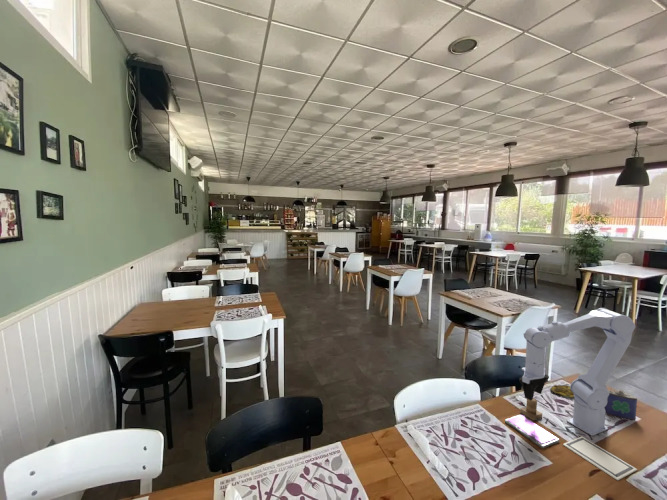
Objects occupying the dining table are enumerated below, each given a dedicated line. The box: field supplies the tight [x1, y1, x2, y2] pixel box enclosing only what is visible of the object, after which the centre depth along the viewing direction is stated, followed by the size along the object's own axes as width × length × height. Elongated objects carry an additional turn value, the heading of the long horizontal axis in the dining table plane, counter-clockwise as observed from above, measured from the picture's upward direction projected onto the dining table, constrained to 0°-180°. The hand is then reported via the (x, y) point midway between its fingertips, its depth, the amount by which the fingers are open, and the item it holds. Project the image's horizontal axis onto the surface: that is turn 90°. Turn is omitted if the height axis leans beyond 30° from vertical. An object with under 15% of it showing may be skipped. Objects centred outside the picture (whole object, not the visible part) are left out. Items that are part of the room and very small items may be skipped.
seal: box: [549, 384, 574, 400], centre depth 122 cm, size 9×5×15 cm
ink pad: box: [504, 414, 560, 449], centre depth 98 cm, size 8×13×1 cm, turn 20°
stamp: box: [519, 397, 543, 422], centre depth 107 cm, size 5×5×6 cm
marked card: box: [562, 436, 638, 481], centre depth 87 cm, size 10×14×1 cm
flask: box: [604, 389, 638, 422], centre depth 106 cm, size 9×3×11 cm, turn 61°
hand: (533, 395), depth 104 cm, fingers open, 7 cm apart
